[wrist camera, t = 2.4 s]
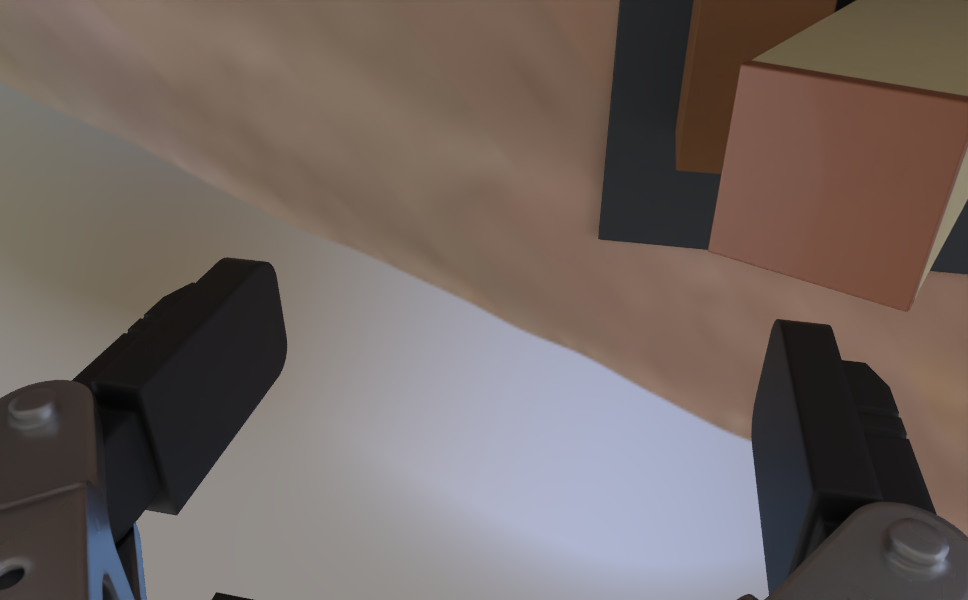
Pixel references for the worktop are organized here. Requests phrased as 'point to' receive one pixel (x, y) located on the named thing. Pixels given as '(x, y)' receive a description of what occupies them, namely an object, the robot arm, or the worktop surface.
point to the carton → (851, 150)
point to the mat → (654, 148)
